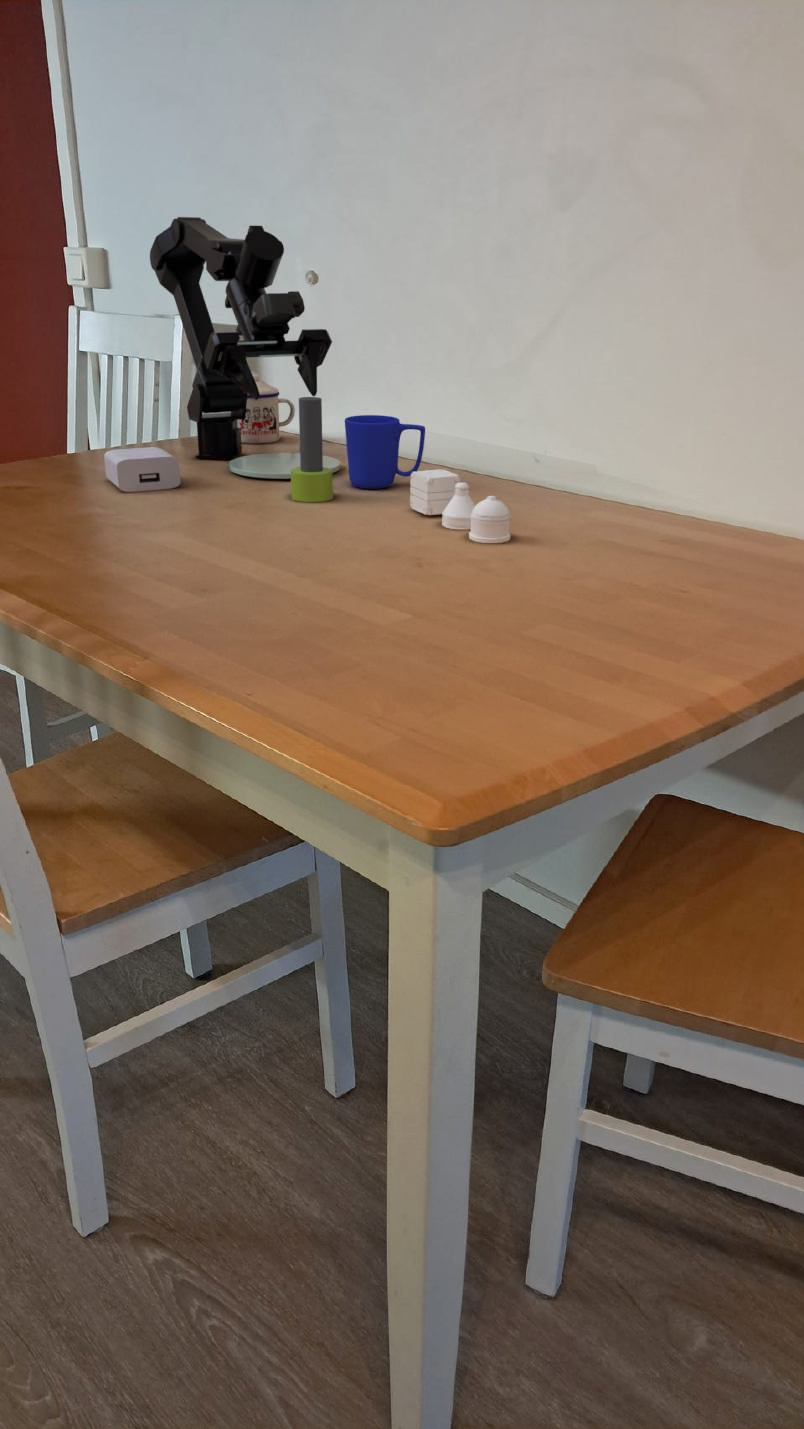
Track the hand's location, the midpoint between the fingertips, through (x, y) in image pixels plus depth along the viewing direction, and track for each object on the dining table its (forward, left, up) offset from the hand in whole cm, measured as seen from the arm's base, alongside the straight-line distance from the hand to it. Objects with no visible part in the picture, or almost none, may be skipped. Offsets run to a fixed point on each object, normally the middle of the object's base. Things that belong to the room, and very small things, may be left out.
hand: (286, 395), depth 156 cm
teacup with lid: (-15, +40, -14) cm, 45 cm away
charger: (-24, 0, -14) cm, 28 cm away
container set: (+28, -18, -14) cm, 36 cm away
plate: (-4, +13, -13) cm, 19 cm away
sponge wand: (+5, -6, -13) cm, 16 cm away
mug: (+14, +4, -14) cm, 20 cm away
